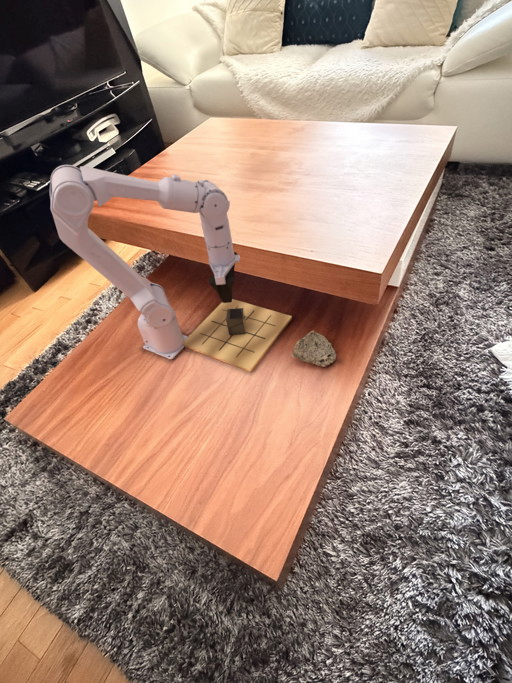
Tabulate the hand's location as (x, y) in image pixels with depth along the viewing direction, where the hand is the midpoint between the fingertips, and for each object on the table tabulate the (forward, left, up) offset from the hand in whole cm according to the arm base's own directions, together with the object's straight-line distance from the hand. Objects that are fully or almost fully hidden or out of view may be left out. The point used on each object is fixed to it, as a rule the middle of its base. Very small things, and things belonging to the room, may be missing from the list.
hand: (228, 292), depth 93 cm
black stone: (+3, -3, -8) cm, 10 cm away
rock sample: (+24, -2, -10) cm, 26 cm away
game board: (+3, -3, -9) cm, 10 cm away
